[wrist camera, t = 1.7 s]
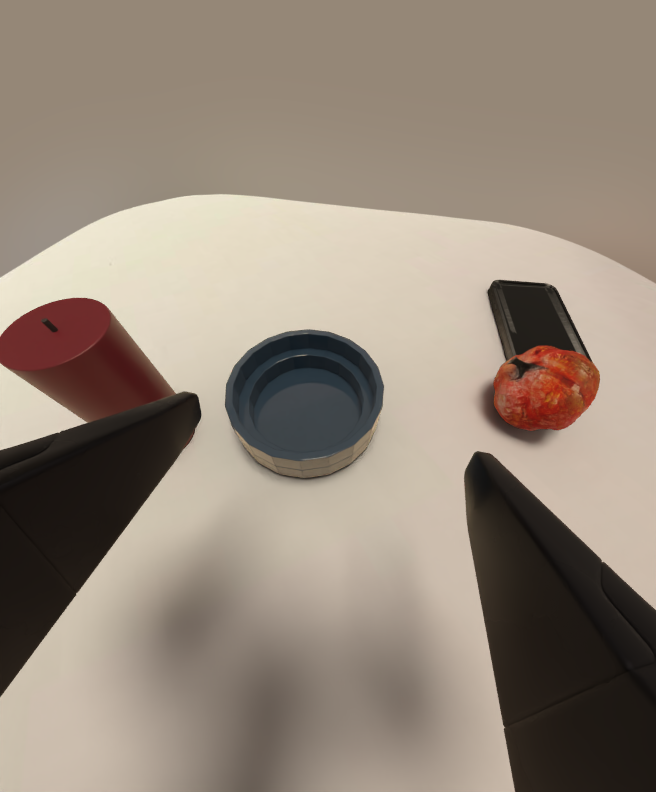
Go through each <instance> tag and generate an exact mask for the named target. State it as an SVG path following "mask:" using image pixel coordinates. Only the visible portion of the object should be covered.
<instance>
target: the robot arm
mask: <svg viewBox="0 0 656 792" xmlns="http://www.w3.org/2000/svg"><path fill="white" fill-rule="evenodd" d="M200 419H201V409H200V404H199V399H198V396H197V395H196V394H195V393H190V392H181V393H178V394H175V395H172V396H169V397H166V398H163V399H160V400H157V401H154V402H151V403H147V404H144V405H141V406H138V407H135V408H132V409H129V410H126V411H123V412H120V413H117V414H114V415H111V416H108V417H104V418H101V419H98V420H95V421H92V422H89V423H86V424H83V425H80V426H77V427H74V428H71V429H68V430H65V431H61V432H60V433H55V434H52V435H49V436H46V437H43V438H40V439H36V440H33V441H30V442H27V443H24V444H21V445H17V446H14V447H10V448H7V449H4V450H0V697H1V695H2V694H3V693H4V691H5V690H6V689H7V687H8V686H9V685H10V683H11V682H12V681H13V679H14V678H15V677H16V675H17V674H18V673H19V671H20V670H21V669H22V667H23V666H24V664H25V663H26V662H27V660H28V659H29V658H30V656H31V655H32V654H33V652H34V651H35V650H36V648H37V647H38V646H39V644H40V643H41V642H42V640H43V639H44V637H45V636H46V635H47V633H48V632H49V631H50V629H51V628H52V627H53V625H54V624H55V623H56V621H57V620H58V619H59V617H60V616H61V615H62V613H63V612H64V611H65V609H66V608H67V606H68V605H69V604H70V602H71V601H72V600H73V598H74V597H75V596H76V593H77V592H78V591H79V590H80V589H81V587H82V586H83V585H84V583H85V582H86V581H87V579H88V578H89V577H90V575H91V574H92V572H93V571H94V570H95V568H96V567H97V566H98V564H99V563H100V562H101V560H102V559H103V558H104V556H105V555H106V554H107V552H108V551H109V550H110V548H111V547H112V546H113V544H114V543H115V541H116V540H117V539H118V537H119V536H120V535H121V533H122V532H123V531H124V529H125V528H126V527H127V525H128V524H129V523H130V521H131V520H132V519H133V517H134V516H135V515H136V513H137V512H138V510H139V509H140V508H141V506H142V505H143V504H144V502H145V501H146V500H147V498H148V497H149V496H150V494H151V493H152V492H153V490H154V489H155V488H156V486H157V485H158V484H159V482H160V481H161V479H162V478H163V477H164V475H165V474H166V473H167V471H168V470H169V469H170V467H171V466H172V465H173V463H174V462H175V461H176V459H177V458H178V456H179V455H180V453H181V451H182V450H183V448H184V446H185V445H186V443H187V441H188V440H189V438H190V436H191V435H192V433H193V431H194V429H195V428H196V426H197V424H198V423H199V421H200ZM464 483H465V500H466V516H467V526H468V533H469V538H470V544H471V549H472V555H473V560H474V566H475V572H476V577H477V583H478V588H479V594H480V599H481V605H482V610H483V616H484V621H485V627H486V632H487V638H488V643H489V649H490V654H491V660H492V665H493V671H494V676H495V682H496V687H497V693H498V698H499V704H500V709H501V715H502V720H503V725H504V727H505V728H504V733H505V738H506V744H507V749H508V755H509V760H510V766H511V771H512V777H513V782H514V788H515V792H656V610H655V609H654V608H653V607H652V606H651V605H649V604H648V603H647V602H646V601H645V600H644V599H643V598H642V597H641V596H640V595H639V594H638V593H636V592H635V591H634V590H633V589H632V588H631V587H630V586H629V585H628V584H627V583H626V582H625V581H624V580H622V579H621V578H620V577H619V576H618V575H617V574H616V573H615V572H614V571H613V570H612V569H611V568H610V567H609V566H608V565H607V564H606V563H604V562H602V560H601V559H600V558H599V557H598V556H597V555H596V554H595V553H594V552H593V551H592V550H591V549H590V548H589V547H588V546H587V545H586V544H585V543H584V542H583V541H582V540H581V539H580V538H578V537H577V536H576V535H575V534H574V533H573V532H572V531H571V530H570V529H569V528H568V527H567V526H566V525H565V524H564V523H563V522H562V521H561V520H560V519H559V518H558V517H557V516H555V515H554V514H553V513H552V512H551V511H550V510H549V509H548V508H547V507H546V506H545V505H544V504H543V503H542V502H541V501H540V500H539V499H538V498H537V497H536V496H535V495H534V494H532V493H531V492H530V491H529V490H528V489H527V488H526V487H525V486H524V485H523V484H522V483H521V482H520V481H519V480H518V479H517V478H516V477H515V476H514V475H513V474H512V473H511V472H510V471H508V470H507V469H506V468H505V467H504V466H503V465H502V464H501V463H500V462H499V461H498V460H497V459H496V458H495V457H494V456H493V455H491V454H489V453H484V452H479V451H477V452H475V453H474V454H473V456H472V458H471V460H470V462H469V464H468V466H467V468H466V470H465V474H464Z"/></svg>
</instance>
